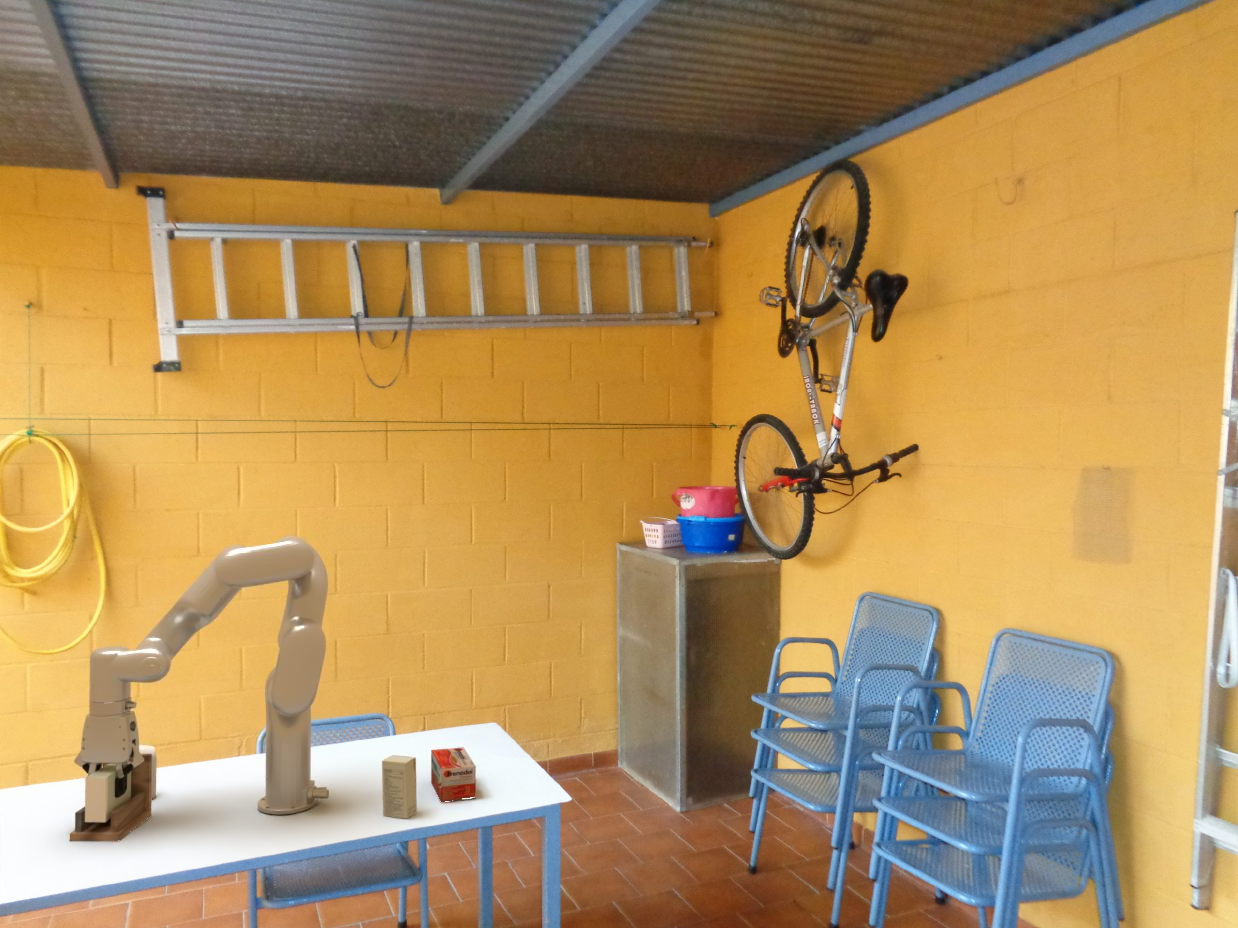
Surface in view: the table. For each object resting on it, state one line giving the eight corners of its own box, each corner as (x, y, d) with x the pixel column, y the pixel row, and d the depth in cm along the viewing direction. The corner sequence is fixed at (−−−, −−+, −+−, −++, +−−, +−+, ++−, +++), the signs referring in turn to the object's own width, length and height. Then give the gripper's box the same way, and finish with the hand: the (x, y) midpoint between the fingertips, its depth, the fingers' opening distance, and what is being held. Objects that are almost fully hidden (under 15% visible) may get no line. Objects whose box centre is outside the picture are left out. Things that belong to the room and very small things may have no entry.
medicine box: (476, 799, 211) (476, 765, 211) (440, 804, 208) (441, 769, 208) (463, 778, 226) (463, 745, 225) (429, 782, 223) (429, 749, 223)
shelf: (151, 816, 200) (151, 753, 200) (119, 840, 187) (119, 774, 187) (104, 815, 200) (105, 753, 200) (69, 840, 187) (70, 773, 187)
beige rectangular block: (131, 803, 197) (131, 761, 197) (105, 822, 187) (105, 777, 187) (111, 803, 197) (112, 761, 197) (84, 821, 187) (85, 777, 187)
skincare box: (417, 812, 203) (417, 756, 203) (406, 819, 199) (407, 762, 199) (392, 808, 205) (392, 753, 205) (381, 815, 201) (381, 759, 201)
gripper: (159, 702, 196) (158, 789, 196) (79, 701, 196) (78, 788, 196) (141, 712, 188) (140, 802, 188) (58, 711, 188) (57, 801, 188)
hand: (108, 794), depth 192 cm, fingers closed on beige rectangular block, 4 cm apart
